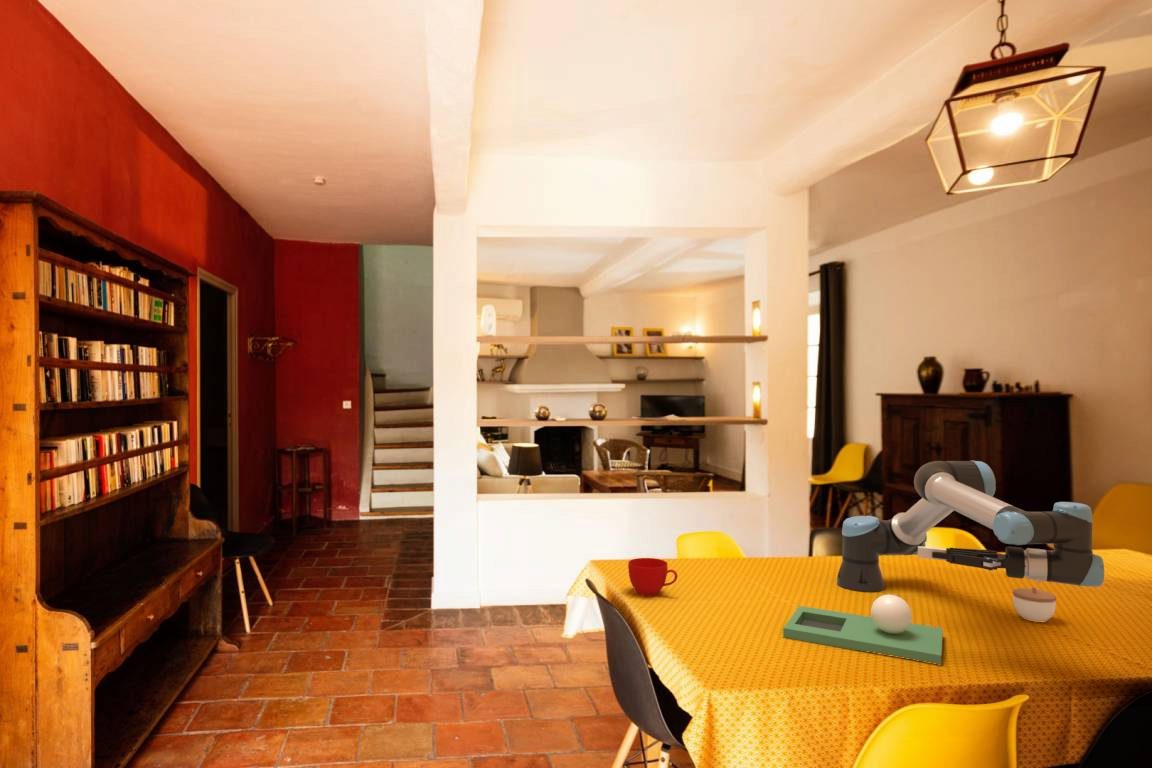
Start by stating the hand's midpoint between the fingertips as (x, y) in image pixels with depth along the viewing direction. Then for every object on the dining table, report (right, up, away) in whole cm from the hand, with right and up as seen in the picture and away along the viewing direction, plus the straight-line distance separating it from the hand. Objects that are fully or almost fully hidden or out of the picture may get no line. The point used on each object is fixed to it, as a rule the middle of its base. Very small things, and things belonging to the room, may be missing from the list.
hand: (918, 551), depth 180 cm
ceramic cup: (-65, -25, +45) cm, 83 cm away
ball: (-6, -17, +3) cm, 19 cm away
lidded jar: (+45, -26, +22) cm, 56 cm away
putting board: (-12, -25, +6) cm, 28 cm away
